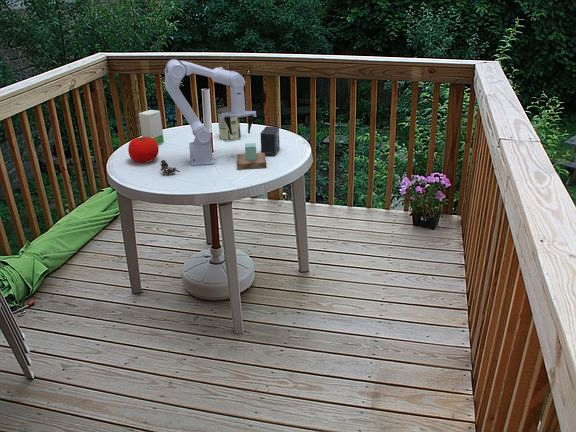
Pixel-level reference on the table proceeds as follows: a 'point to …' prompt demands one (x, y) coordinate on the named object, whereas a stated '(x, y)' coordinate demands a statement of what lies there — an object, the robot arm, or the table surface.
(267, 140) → the small box
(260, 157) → the walnut slab
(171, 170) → the gnarled brown figurine
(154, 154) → the tomato
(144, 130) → the skincare box
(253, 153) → the teal block
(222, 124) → the coffee can
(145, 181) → the table surface
